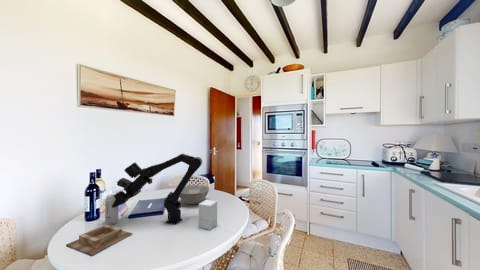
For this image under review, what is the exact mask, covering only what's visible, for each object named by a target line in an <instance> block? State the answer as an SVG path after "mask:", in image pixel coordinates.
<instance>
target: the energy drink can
mask: <svg viewBox="0 0 480 270" xmlns="http://www.w3.org/2000/svg"><path fill="white" fill-rule="evenodd" d="M115 194H116V193H114V194H109V195H107V196H106V198H105V200H104V203H105V204H104V205H105V207H104V211H105V213H104V217H105V218H104V219H105V221H104V222H105V225H110V226H113V225H116V224H118V221H119V206H117V207H114V208H112V205H113V203H114V202H115V200H116V198H115V197H114V195H115Z"/></svg>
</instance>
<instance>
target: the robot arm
mask: <svg viewBox="0 0 480 270" xmlns="http://www.w3.org/2000/svg"><path fill="white" fill-rule="evenodd" d="M180 162H182V163H184V164H186V165H187V166H188V167H187V170H186V172H185V173H184V175H183V177H182V179H181V180H180V181H179V183H178V185H177V186H176V188H175V189H174V191H170V192H169V193H168V194H167V197H166V198H165V199H164V200H163V207H164V209H166V211H167V220H166V221H165V223H167V224H171V225H177V224H179V223H181V222H183V218H182V213H181V212H182V211H181V207H182V203H181V202H180V200H179V199H180V194H181V192H182V191H183V189H184V188H185V186H187V184H188V183H189V181H190V179H191V178H192V176H193V175H194V174H195V172H197V170H198V169H199V168H200V167H201V166H202V165H203V159H202V158H201V157H199V156H196V157H195V156H193V155H188V154H185V153H180V154H179V155H177V156H175V157H172V158H171V159H168V160H166V161H164V162H161V163H158V164H154V165H150V166H148V167H146V168H145V167H144V168H141V166H140V165H138V163H137V162H133V163H131V164H130V165H129V166H126V168H124V172H125V173H126V174H127V175H128V177H130V178H131V179H134V180H133V181H131V180H130V179H127V178H124V177H122V178H120V179H118V181H117V182H116V185H117V186H118V187H121V188H123V190H124V191H125V192H124V191H123V190H120V191H118V192H116V193H114V194H115V195H114V197H115V198H116V200H115V202H114V203H113V205H112V208H114V207H117V206H118V207H119V206H121V205H125V203H127V202H128V201H129V200H130V199H131V198H134V197H136V196H137V195H139V194H140V193H141V192H142V189H143V187H145V185H147V184H148V185H151V184H152V183H153V177H155V176H156V175H158V174H159V173H161V172H162V171H164V170H166V169H168V168H171V167H173V166H175V165H177V164H179V163H180Z"/></svg>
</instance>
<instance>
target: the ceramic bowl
mask: <svg viewBox="0 0 480 270" xmlns="http://www.w3.org/2000/svg"><path fill="white" fill-rule="evenodd" d="M209 191H210V188H209V186H207V185H201V184H188V185H186V186H185V188H184V189H183V191H182V192H181V194H180V197H179V199H180V200H181V201H182V202H183V203H184V204H186V205H197V204H198V205H199V203H201V202H203V201H205V200H206V199H205V198H206V197H207V195H208V194H209Z"/></svg>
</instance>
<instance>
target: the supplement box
mask: <svg viewBox="0 0 480 270" xmlns="http://www.w3.org/2000/svg"><path fill="white" fill-rule="evenodd" d="M217 225H218V201H216V200H210V199H204V200H203V201H202V202H201V203H198V228H200V229H205V230H209V231H211V230H212V229H213V228H215V226H217Z"/></svg>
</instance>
